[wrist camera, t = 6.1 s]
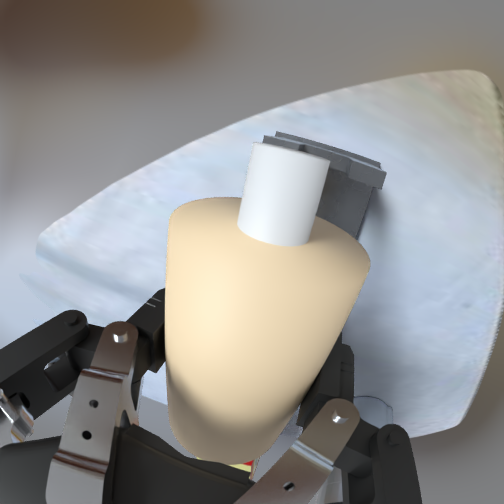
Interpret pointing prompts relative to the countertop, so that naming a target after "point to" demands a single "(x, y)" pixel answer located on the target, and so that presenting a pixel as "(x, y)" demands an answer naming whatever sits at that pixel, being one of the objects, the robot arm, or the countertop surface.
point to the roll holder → (339, 181)
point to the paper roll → (253, 305)
